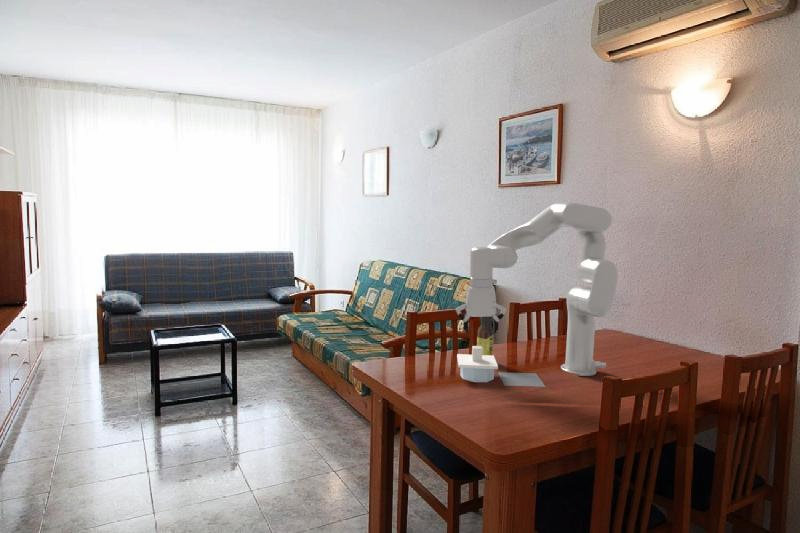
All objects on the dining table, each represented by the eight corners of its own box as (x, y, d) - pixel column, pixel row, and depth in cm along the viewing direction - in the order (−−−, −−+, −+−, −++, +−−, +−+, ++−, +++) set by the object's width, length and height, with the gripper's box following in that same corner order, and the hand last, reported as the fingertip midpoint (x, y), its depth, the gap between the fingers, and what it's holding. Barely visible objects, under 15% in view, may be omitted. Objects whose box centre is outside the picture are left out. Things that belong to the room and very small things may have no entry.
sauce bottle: (492, 367, 198) (494, 315, 195) (475, 366, 199) (477, 314, 197) (492, 362, 204) (495, 311, 202) (476, 361, 205) (478, 310, 203)
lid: (493, 358, 189) (494, 343, 188) (497, 369, 176) (498, 353, 175) (457, 356, 190) (457, 341, 189) (458, 367, 177) (459, 351, 176)
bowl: (487, 374, 189) (488, 358, 189) (496, 384, 179) (497, 367, 178) (458, 374, 188) (458, 358, 188) (464, 384, 178) (465, 367, 177)
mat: (535, 375, 189) (536, 373, 189) (545, 389, 175) (545, 386, 175) (497, 374, 189) (497, 372, 189) (504, 387, 175) (504, 385, 175)
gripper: (504, 281, 183) (504, 329, 185) (454, 281, 184) (454, 329, 186) (508, 284, 176) (507, 335, 178) (456, 285, 176) (456, 335, 178)
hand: (480, 332), depth 182 cm, fingers open, 9 cm apart
